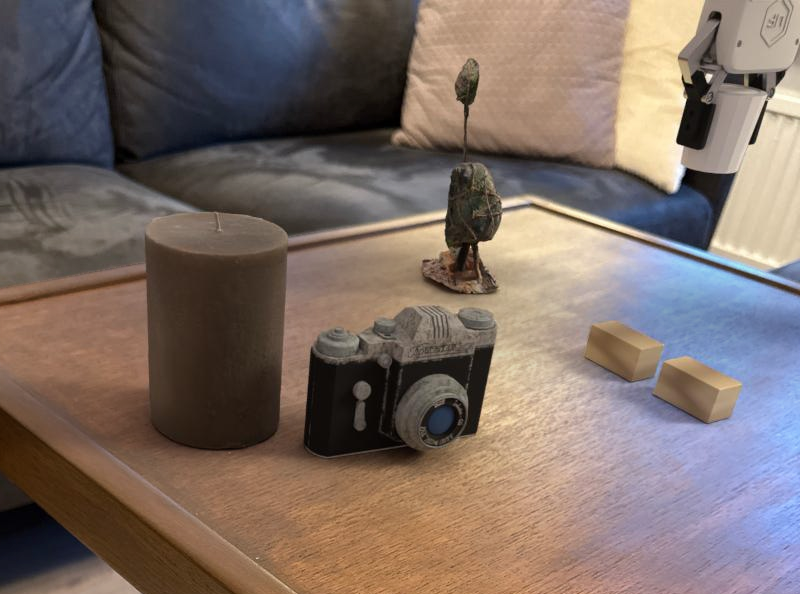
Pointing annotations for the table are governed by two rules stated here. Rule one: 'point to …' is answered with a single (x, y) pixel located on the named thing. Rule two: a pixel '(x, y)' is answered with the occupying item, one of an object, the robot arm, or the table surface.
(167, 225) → the pillar candle
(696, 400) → the bar
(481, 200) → the plant with pod
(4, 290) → the table surface
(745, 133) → the white cup
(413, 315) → the camera
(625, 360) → the bar
